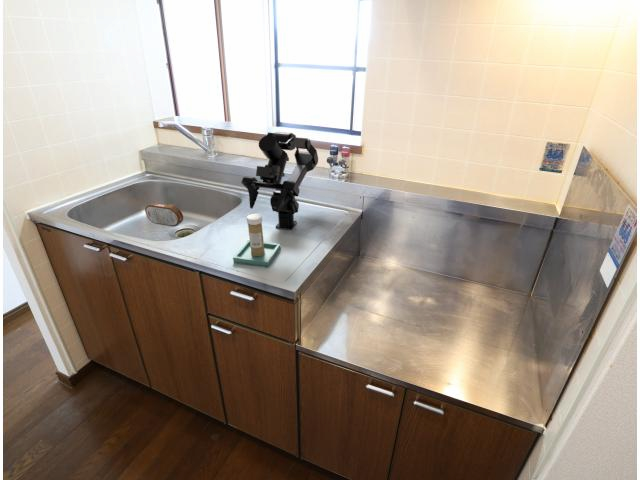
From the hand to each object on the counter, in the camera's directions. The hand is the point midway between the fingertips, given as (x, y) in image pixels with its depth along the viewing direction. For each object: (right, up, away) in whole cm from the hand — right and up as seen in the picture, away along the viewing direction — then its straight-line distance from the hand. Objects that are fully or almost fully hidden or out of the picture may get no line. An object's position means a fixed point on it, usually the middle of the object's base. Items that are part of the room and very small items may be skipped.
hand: (263, 210), depth 120 cm
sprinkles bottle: (-2, -14, +1) cm, 14 cm away
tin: (-41, -4, +22) cm, 46 cm away
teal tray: (-2, -15, +1) cm, 15 cm away
